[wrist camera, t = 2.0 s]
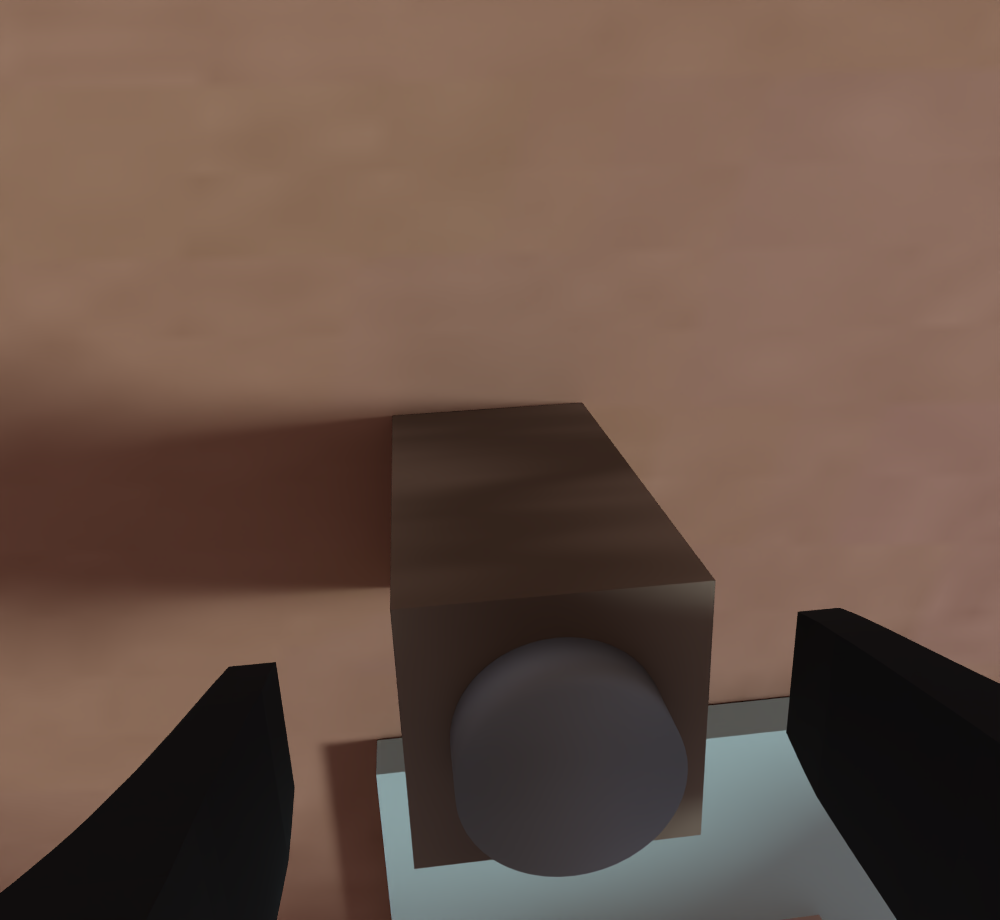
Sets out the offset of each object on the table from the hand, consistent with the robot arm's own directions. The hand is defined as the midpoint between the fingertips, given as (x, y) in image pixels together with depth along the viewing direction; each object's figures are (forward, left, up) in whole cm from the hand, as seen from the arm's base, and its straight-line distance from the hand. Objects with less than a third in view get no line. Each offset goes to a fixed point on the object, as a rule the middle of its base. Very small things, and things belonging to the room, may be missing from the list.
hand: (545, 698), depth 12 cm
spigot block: (0, 0, -7) cm, 7 cm away
